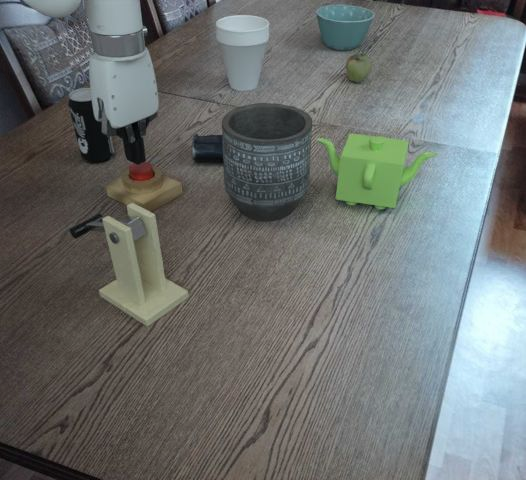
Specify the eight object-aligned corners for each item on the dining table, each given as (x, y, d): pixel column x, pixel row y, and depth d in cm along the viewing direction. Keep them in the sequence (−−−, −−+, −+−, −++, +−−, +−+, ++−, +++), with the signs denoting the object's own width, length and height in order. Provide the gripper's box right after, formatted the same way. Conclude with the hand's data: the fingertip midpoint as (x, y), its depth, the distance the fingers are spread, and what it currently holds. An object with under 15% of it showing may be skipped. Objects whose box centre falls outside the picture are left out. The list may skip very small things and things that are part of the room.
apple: (367, 74, 139) (371, 48, 135) (369, 86, 134) (373, 60, 130) (343, 73, 140) (346, 48, 136) (344, 85, 134) (347, 59, 130)
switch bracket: (100, 296, 79) (78, 215, 69) (142, 270, 83) (126, 190, 74) (147, 327, 74) (130, 245, 65) (189, 297, 79) (179, 216, 69)
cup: (252, 99, 128) (252, 34, 118) (208, 89, 132) (204, 25, 123) (277, 82, 136) (279, 19, 126) (235, 72, 140) (233, 11, 130)
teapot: (425, 205, 96) (440, 146, 88) (367, 228, 91) (377, 168, 83) (368, 169, 105) (377, 113, 97) (312, 188, 100) (316, 131, 92)
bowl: (372, 38, 159) (377, 6, 153) (367, 57, 148) (371, 22, 142) (319, 34, 161) (321, 2, 155) (309, 52, 150) (311, 18, 145)
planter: (209, 213, 94) (202, 127, 83) (253, 177, 103) (252, 95, 92) (280, 238, 89) (283, 150, 78) (321, 199, 97) (328, 114, 87)
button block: (107, 195, 98) (102, 175, 95) (145, 176, 103) (141, 156, 100) (145, 215, 94) (141, 194, 91) (182, 194, 98) (180, 173, 96)
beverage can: (74, 158, 108) (58, 95, 99) (99, 145, 111) (85, 84, 103) (98, 167, 105) (83, 103, 97) (122, 154, 109) (110, 92, 100)
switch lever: (74, 241, 78) (66, 225, 76) (102, 226, 80) (95, 210, 79) (125, 246, 69) (118, 228, 68) (155, 229, 71) (148, 211, 70)
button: (125, 177, 95) (123, 167, 94) (143, 168, 98) (141, 159, 96) (141, 184, 94) (139, 175, 92) (158, 175, 96) (157, 166, 95)
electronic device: (194, 175, 106) (271, 163, 105) (188, 146, 103) (267, 134, 101) (198, 158, 113) (270, 147, 112) (192, 131, 110) (266, 119, 109)
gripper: (140, 25, 86) (153, 139, 99) (59, 48, 78) (86, 169, 91) (173, 36, 83) (183, 152, 96) (93, 61, 75) (116, 184, 88)
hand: (136, 160), depth 93 cm, fingers closed
